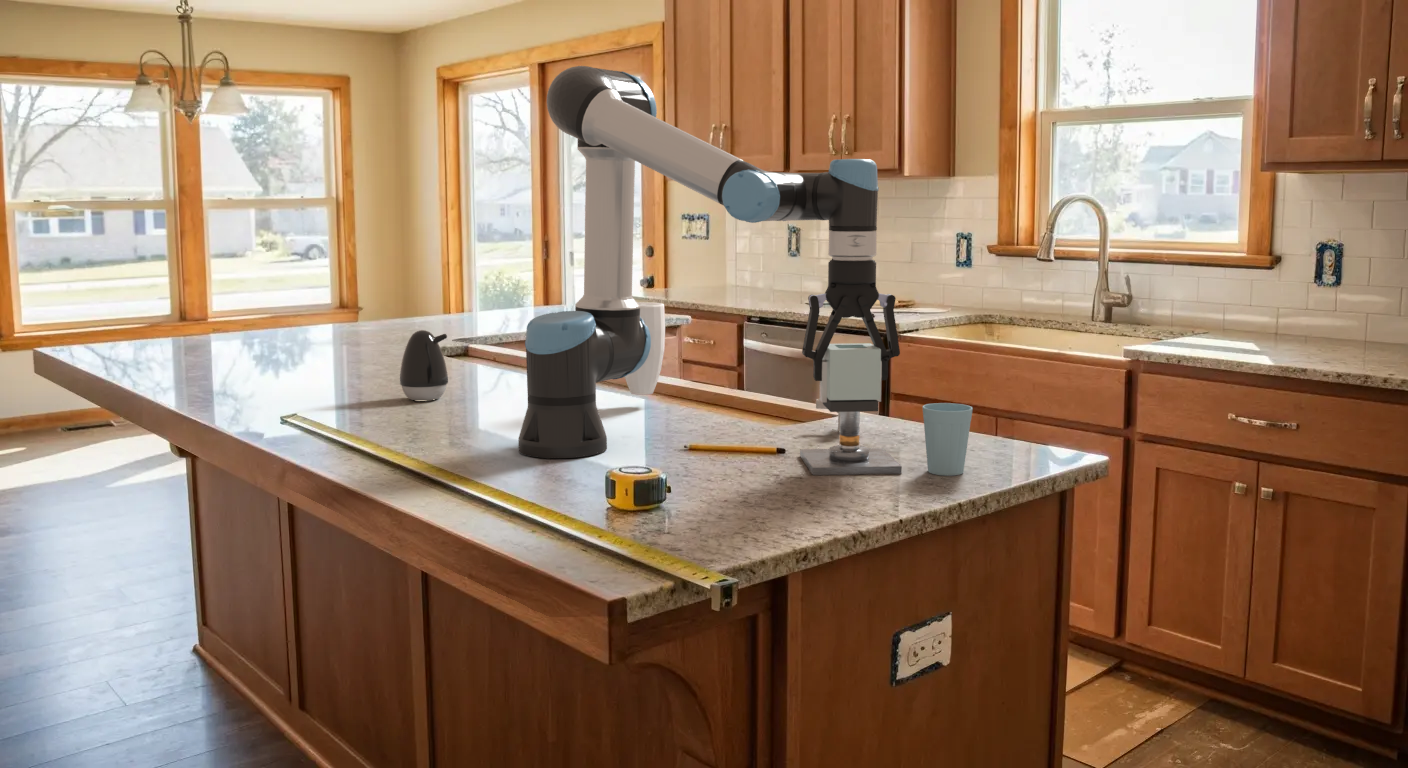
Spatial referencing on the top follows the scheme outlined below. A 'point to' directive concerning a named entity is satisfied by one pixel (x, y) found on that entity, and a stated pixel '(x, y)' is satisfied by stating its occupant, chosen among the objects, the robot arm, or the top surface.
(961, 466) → the cup
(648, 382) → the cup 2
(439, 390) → the pump dispenser
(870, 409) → the dark grey square slab
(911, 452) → the top surface
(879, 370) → the sleeve
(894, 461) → the pipe stand
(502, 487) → the top surface
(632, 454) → the top surface
